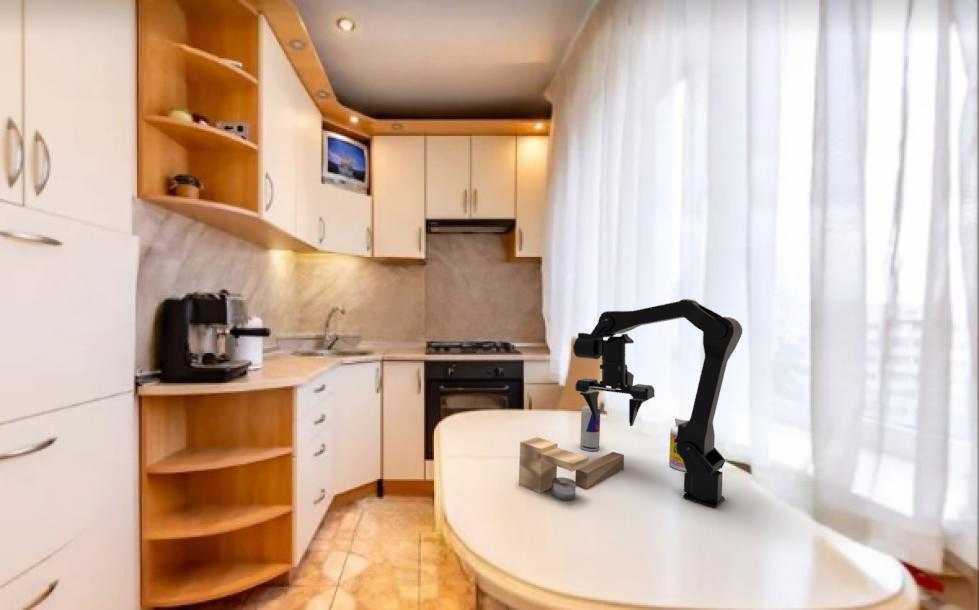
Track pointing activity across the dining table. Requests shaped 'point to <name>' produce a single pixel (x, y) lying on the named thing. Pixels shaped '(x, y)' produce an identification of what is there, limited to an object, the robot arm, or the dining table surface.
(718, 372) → the robot arm
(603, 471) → the batten
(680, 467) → the supplement bottle
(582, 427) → the energy drink
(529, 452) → the l-shaped wooden block
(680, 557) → the dining table surface
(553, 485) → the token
